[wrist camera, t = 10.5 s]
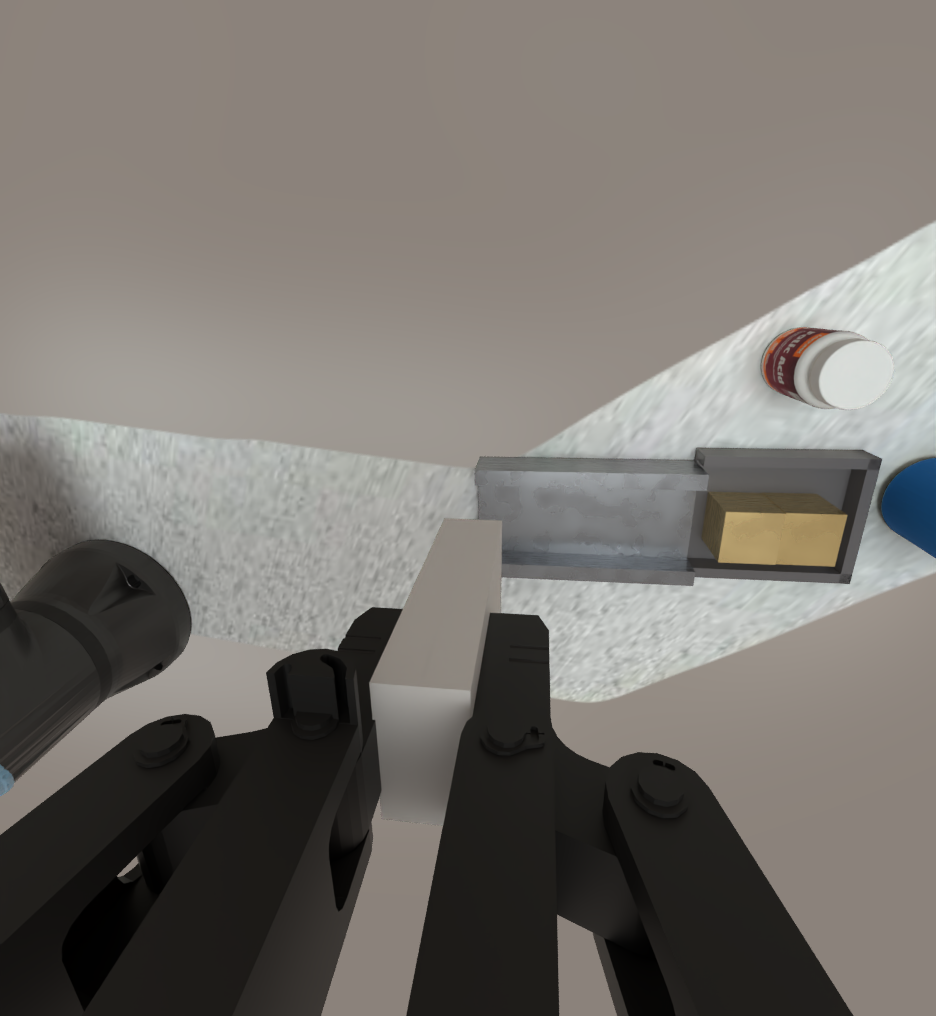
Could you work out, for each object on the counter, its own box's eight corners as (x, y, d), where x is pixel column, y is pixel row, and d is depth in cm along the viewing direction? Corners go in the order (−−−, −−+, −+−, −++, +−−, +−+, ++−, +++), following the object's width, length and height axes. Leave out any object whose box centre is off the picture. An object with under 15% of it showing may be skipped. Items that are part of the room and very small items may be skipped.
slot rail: (481, 555, 48) (475, 576, 44) (480, 456, 45) (474, 470, 41) (680, 563, 46) (693, 585, 42) (694, 460, 42) (709, 475, 39)
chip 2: (753, 539, 43) (775, 564, 39) (761, 492, 42) (786, 513, 38) (806, 541, 43) (834, 566, 39) (816, 493, 42) (847, 514, 37)
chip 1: (701, 537, 44) (717, 562, 40) (708, 491, 43) (726, 511, 38) (753, 539, 43) (775, 564, 39) (761, 493, 42) (785, 513, 38)
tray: (680, 563, 46) (688, 576, 43) (696, 447, 42) (705, 456, 40) (833, 569, 44) (849, 583, 42) (862, 450, 41) (882, 458, 38)
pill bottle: (779, 318, 38) (839, 321, 30) (843, 339, 38) (920, 348, 30) (747, 382, 40) (796, 401, 32) (808, 403, 40) (872, 427, 32)
